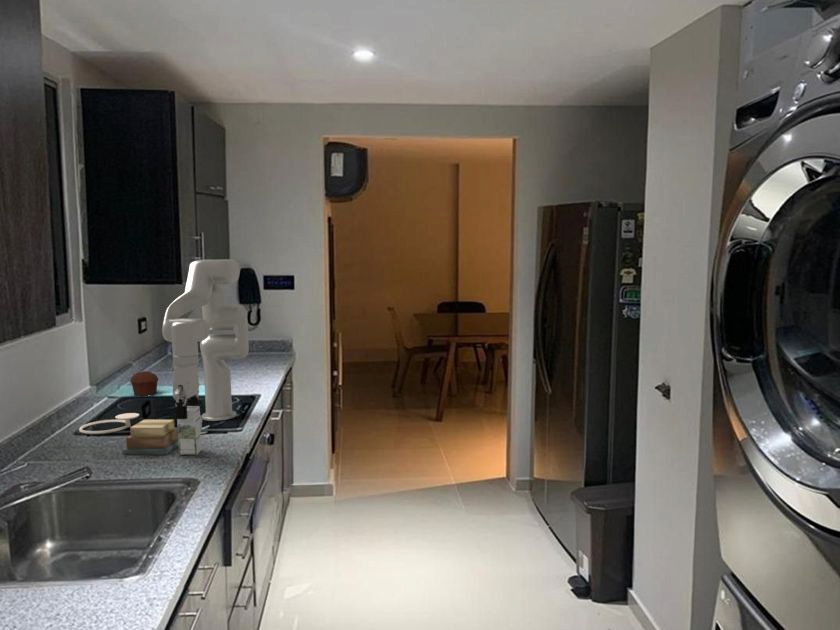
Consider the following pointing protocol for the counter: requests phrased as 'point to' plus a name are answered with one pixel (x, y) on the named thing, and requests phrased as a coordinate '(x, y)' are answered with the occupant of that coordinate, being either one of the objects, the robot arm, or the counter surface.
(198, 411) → the syrup box
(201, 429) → the pacifier
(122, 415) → the hand towel holder
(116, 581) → the counter surface
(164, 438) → the tower base
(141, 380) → the muffin
